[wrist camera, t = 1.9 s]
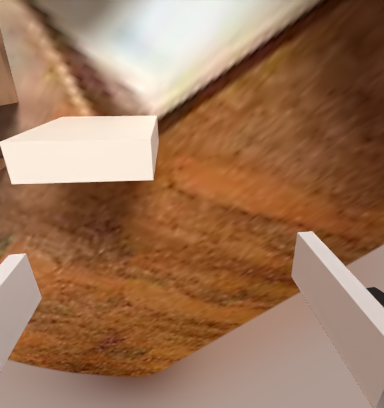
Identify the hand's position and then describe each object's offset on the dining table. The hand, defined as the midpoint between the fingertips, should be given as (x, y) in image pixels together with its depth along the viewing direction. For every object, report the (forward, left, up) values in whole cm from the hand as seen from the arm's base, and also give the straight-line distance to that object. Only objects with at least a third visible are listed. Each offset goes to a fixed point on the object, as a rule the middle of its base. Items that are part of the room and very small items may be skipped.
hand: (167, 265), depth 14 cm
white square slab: (-3, -6, -20) cm, 21 cm away
